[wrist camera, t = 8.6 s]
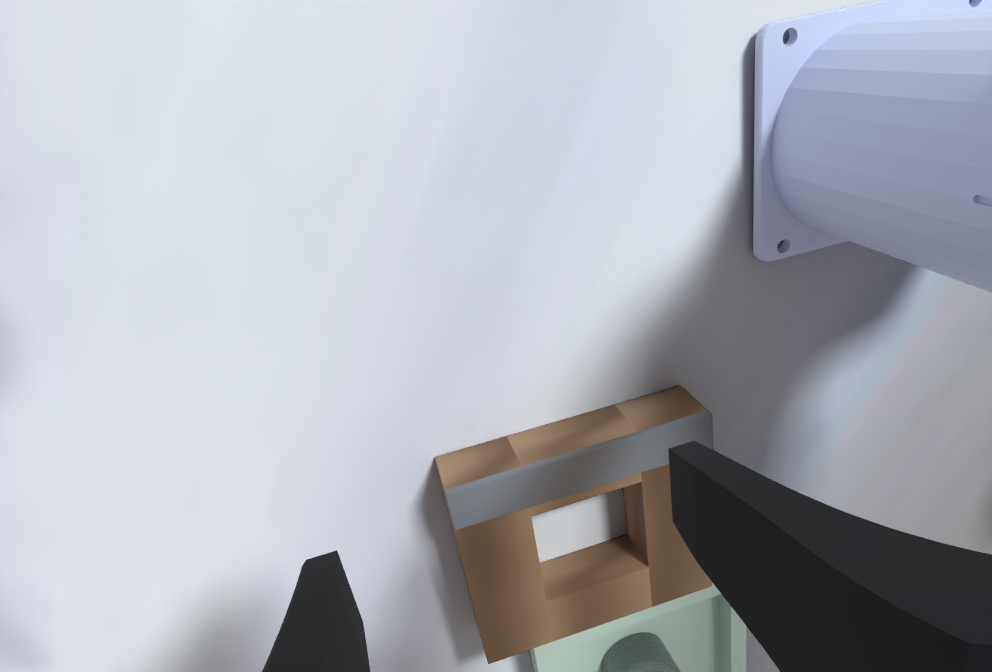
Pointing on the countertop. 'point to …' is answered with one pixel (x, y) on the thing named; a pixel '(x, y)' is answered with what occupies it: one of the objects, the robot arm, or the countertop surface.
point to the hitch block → (562, 481)
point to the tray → (680, 625)
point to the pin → (639, 655)
